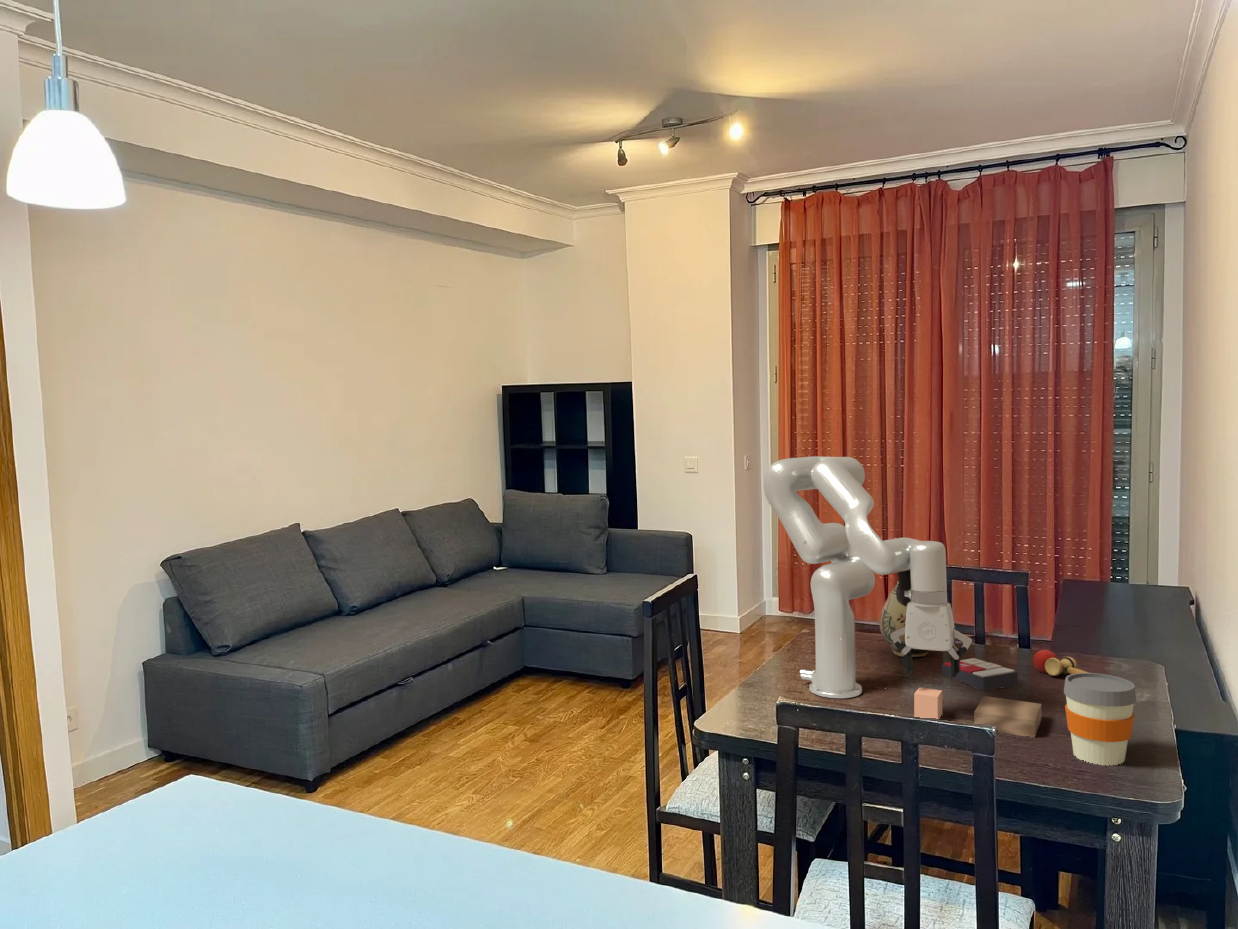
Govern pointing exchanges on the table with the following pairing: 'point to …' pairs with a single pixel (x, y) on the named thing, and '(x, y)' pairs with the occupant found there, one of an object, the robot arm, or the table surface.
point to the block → (928, 703)
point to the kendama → (1055, 664)
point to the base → (1009, 715)
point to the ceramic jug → (897, 614)
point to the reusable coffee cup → (1099, 716)
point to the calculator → (982, 674)
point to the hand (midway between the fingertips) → (931, 673)
